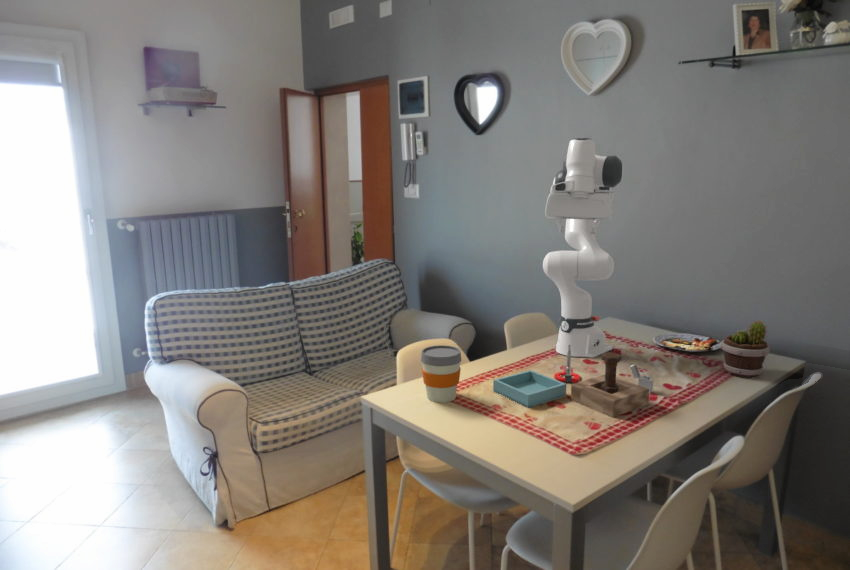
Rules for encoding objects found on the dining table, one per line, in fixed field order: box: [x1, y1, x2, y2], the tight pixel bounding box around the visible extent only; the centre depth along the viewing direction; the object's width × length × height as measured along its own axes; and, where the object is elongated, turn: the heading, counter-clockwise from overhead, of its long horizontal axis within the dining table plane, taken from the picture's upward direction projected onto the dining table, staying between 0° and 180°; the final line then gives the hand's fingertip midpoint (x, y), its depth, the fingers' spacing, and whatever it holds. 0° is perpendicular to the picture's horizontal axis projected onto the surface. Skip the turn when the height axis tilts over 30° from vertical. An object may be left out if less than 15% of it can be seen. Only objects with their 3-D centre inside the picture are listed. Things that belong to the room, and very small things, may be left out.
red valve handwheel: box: [553, 345, 581, 384], centre depth 204 cm, size 8×13×9 cm
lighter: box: [629, 363, 654, 394], centre depth 193 cm, size 7×2×8 cm, turn 48°
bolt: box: [600, 352, 623, 394], centre depth 183 cm, size 6×5×15 cm
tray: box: [492, 369, 567, 409], centre depth 191 cm, size 16×16×4 cm
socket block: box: [570, 374, 650, 418], centre depth 184 cm, size 16×16×5 cm
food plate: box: [652, 332, 722, 353], centre depth 238 cm, size 25×23×4 cm
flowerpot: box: [720, 318, 771, 379], centre depth 205 cm, size 14×15×20 cm
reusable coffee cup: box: [420, 344, 462, 403], centre depth 189 cm, size 13×13×15 cm
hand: (577, 233), depth 186 cm, fingers open, 8 cm apart
